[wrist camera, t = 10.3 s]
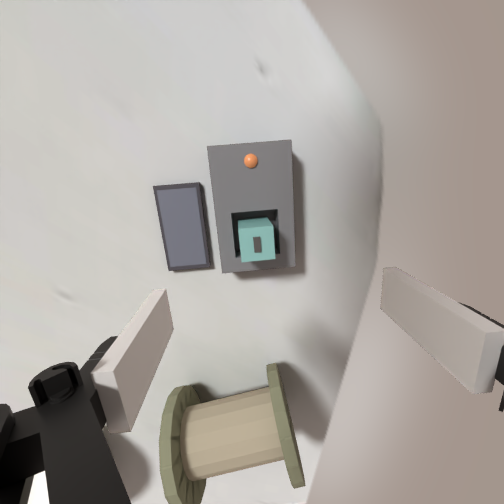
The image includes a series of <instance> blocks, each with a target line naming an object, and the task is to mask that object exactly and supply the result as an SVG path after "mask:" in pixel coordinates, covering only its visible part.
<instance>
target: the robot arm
mask: <svg viewBox="0 0 504 504" xmlns="http://www.w3.org/2000/svg"><path fill="white" fill-rule="evenodd" d="M381 310H383V311H384V312H385V313H386V314H387V315H388V316H389V317H390V318H391V319H392V320H393V321H395V322H396V323H397V324H398V325H399V326H400V327H401V328H402V329H403V330H404V331H405V332H406V333H407V334H408V335H410V336H411V337H412V338H413V339H414V340H415V341H416V342H417V343H418V344H419V345H420V346H422V348H424V349H425V350H426V351H427V352H428V353H429V354H430V355H431V356H432V357H433V358H434V359H436V360H437V361H438V362H439V363H440V364H441V365H442V366H443V367H444V368H445V369H446V370H447V371H448V372H450V373H451V374H452V375H453V376H454V377H455V378H456V379H457V380H458V381H459V382H460V383H461V384H462V385H464V386H465V387H466V388H467V389H468V390H469V391H470V392H471V393H472V394H479V393H487V392H492V390H493V386H494V381H495V379H496V380H498V381H499V382H500V383H501V384H503V385H504V325H502V324H500V323H499V322H497V321H495V320H493V319H490V318H489V317H488V316H486V315H484V314H481V312H479V311H477V310H475V309H474V308H472V307H470V306H467V305H464V304H462V303H459V302H456V301H454V300H453V299H451V298H449V297H447V296H446V295H444V294H442V293H441V292H439V291H437V290H435V289H433V288H432V287H430V286H428V285H426V284H425V283H423V282H421V281H420V280H418V279H416V278H414V277H413V276H411V275H409V274H407V273H405V272H404V271H402V270H400V269H399V268H397V267H391V268H384V270H383V284H382V297H381ZM173 330H174V328H173V322H172V317H171V312H170V307H169V302H168V297H167V292H166V289H157V290H152V292H151V293H150V294H149V296H148V297H147V298H146V300H145V301H144V302H143V304H142V305H141V306H140V308H139V309H138V310H137V312H136V313H135V314H134V316H133V317H132V318H131V320H130V321H129V322H128V324H127V325H126V327H125V328H124V329H123V331H122V332H121V333H120V335H119V336H114V337H110V338H109V339H107V340H106V341H105V342H103V343H102V344H101V345H100V346H99V347H98V348H97V350H96V351H95V352H94V354H93V355H92V356H91V357H90V358H89V361H87V362H86V363H85V364H84V366H83V367H82V368H81V369H80V370H79V369H78V366H77V365H76V364H75V363H74V362H64V363H59V364H57V365H54V366H51V367H49V368H47V369H45V370H44V371H42V372H41V373H39V374H38V375H37V376H35V377H34V378H33V379H32V381H31V382H30V383H29V386H28V389H29V391H30V394H31V396H32V398H33V401H34V403H35V406H34V407H31V408H28V409H25V410H22V411H19V412H16V413H12V411H11V408H10V406H8V405H7V404H0V504H28V500H29V495H30V491H31V487H32V483H33V479H34V475H36V474H38V473H41V472H43V471H45V475H46V482H47V490H48V497H49V504H131V502H130V499H129V497H128V494H127V492H126V489H125V487H124V484H123V482H122V479H121V477H120V474H119V472H118V469H117V467H116V464H115V462H114V459H113V457H112V454H111V452H110V449H109V447H108V444H107V442H106V439H105V437H104V434H103V432H102V429H103V427H104V425H105V423H106V424H107V427H108V430H109V433H110V434H114V433H123V432H131V430H132V427H133V425H134V423H135V420H136V418H137V415H138V413H139V411H140V408H141V406H142V404H143V401H144V399H145V396H146V394H147V392H148V389H149V387H150V384H151V382H152V380H153V377H154V375H155V373H156V370H157V368H158V365H159V363H160V361H161V358H162V356H163V353H164V351H165V349H166V346H167V344H168V342H169V339H170V337H171V334H172V332H173ZM503 410H504V392H503V396H502V399H501V403H500V407H499V411H502V412H503Z"/></svg>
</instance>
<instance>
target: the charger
mask: <svg viewBox="0 0 504 504" xmlns="http://www.w3.org/2000/svg"><path fill="white" fill-rule="evenodd" d="M238 233H239V242H240V252H241V261H242V262H250V261H260V260H270V259H275V245H274V230H273V225H272V223H271V222H270V221H269V219H268V218H267V216H266V217H256V218H245V219H238Z"/></svg>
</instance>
